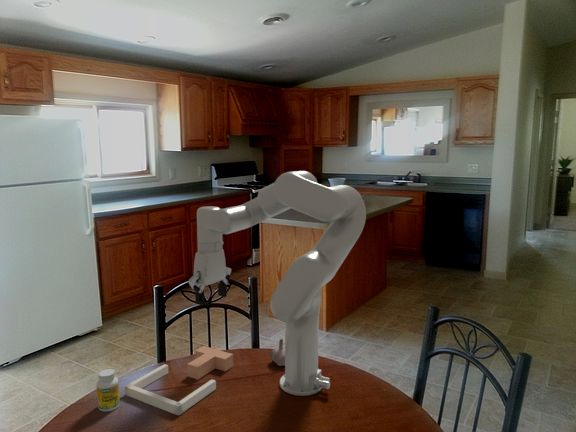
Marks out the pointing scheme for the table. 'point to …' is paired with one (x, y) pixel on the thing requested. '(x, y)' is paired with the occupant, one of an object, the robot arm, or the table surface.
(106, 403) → the supplement bottle
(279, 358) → the garlic bulb
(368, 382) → the table surface
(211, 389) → the frame
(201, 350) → the t block
